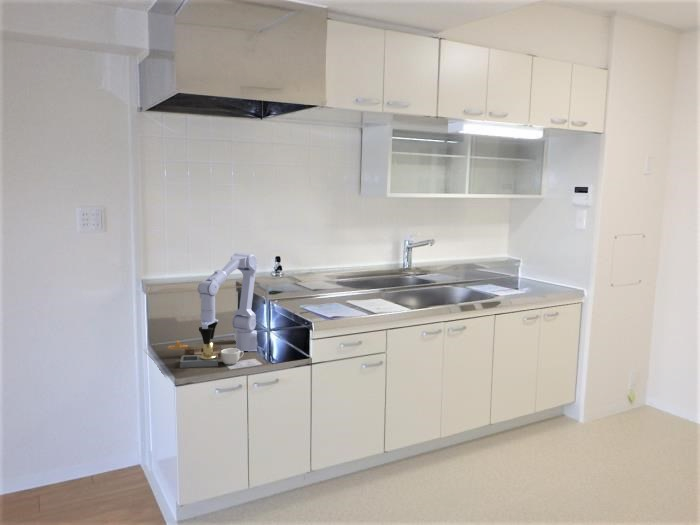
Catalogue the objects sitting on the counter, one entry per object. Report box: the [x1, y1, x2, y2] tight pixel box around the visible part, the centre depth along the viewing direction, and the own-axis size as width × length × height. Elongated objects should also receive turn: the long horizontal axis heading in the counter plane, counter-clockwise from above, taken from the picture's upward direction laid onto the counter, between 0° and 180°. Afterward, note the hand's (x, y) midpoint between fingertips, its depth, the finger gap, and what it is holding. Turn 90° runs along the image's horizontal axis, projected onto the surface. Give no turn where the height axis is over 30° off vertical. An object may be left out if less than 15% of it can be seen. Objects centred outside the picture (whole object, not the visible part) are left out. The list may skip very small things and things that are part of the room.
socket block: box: [184, 345, 222, 360], centre depth 252 cm, size 15×11×4 cm
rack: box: [179, 354, 219, 369], centre depth 241 cm, size 15×8×2 cm, turn 102°
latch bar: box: [167, 340, 189, 350], centre depth 249 cm, size 8×2×3 cm, turn 102°
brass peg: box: [200, 340, 217, 360], centre depth 241 cm, size 7×7×9 cm
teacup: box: [220, 347, 245, 365], centre depth 243 cm, size 10×8×5 cm
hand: (208, 341), depth 241 cm, fingers open, 7 cm apart
